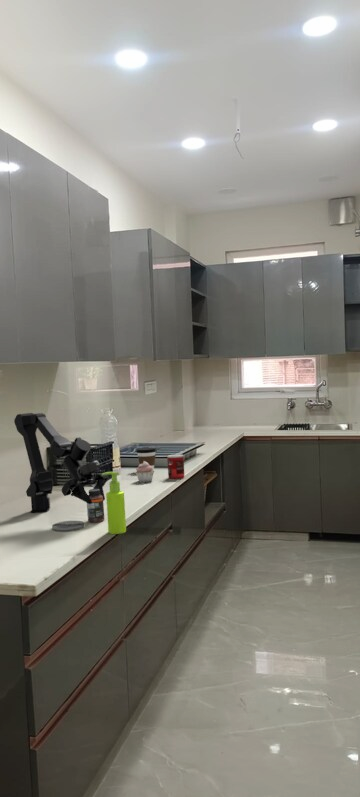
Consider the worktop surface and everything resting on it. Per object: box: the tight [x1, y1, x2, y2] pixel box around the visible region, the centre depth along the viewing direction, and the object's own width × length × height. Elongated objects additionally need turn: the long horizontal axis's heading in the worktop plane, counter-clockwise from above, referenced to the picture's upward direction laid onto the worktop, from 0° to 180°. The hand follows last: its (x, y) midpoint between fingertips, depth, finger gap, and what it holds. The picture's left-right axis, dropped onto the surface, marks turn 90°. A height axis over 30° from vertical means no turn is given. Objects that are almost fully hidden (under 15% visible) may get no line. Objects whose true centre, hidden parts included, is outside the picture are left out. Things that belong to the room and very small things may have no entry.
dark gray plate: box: [51, 520, 85, 533], centre depth 213 cm, size 11×11×1 cm
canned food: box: [166, 453, 185, 480], centre depth 300 cm, size 8×8×11 cm
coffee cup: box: [135, 446, 157, 471], centre depth 325 cm, size 11×11×12 cm
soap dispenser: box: [102, 471, 127, 535], centre depth 203 cm, size 6×7×20 cm
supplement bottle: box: [86, 488, 105, 523], centre depth 220 cm, size 6×6×11 cm
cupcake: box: [134, 461, 155, 483], centre depth 295 cm, size 9×9×10 cm
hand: (97, 501), depth 219 cm, fingers closed on supplement bottle, 6 cm apart
